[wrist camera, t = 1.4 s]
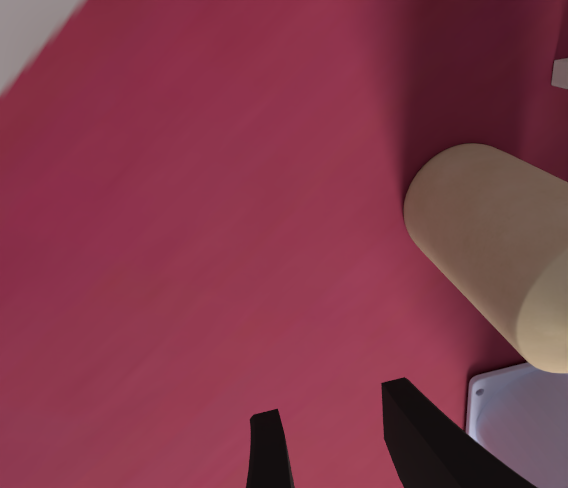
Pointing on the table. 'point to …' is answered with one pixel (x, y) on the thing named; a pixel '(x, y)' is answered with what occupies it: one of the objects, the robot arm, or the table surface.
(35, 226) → the table surface
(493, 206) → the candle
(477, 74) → the table surface
